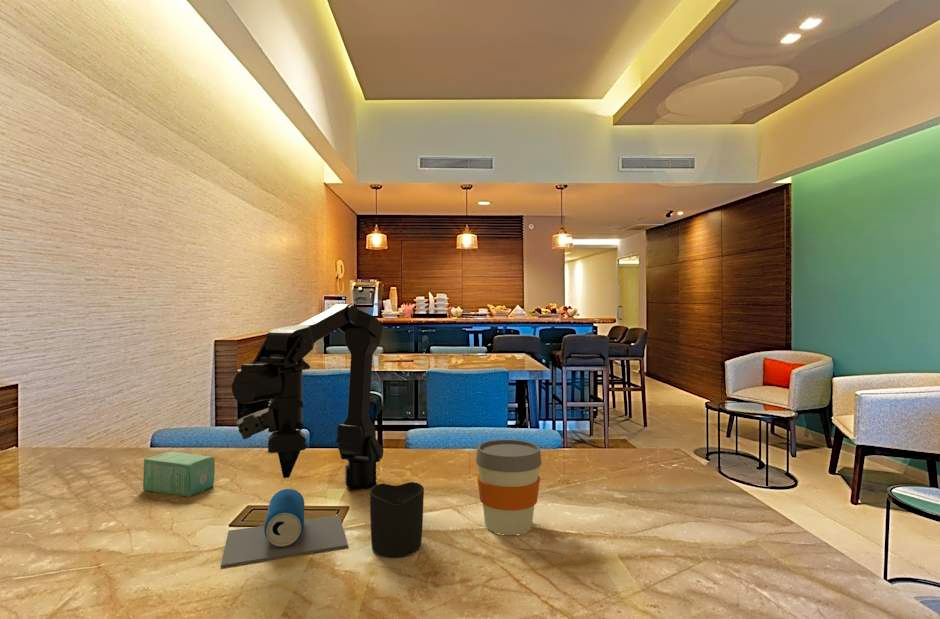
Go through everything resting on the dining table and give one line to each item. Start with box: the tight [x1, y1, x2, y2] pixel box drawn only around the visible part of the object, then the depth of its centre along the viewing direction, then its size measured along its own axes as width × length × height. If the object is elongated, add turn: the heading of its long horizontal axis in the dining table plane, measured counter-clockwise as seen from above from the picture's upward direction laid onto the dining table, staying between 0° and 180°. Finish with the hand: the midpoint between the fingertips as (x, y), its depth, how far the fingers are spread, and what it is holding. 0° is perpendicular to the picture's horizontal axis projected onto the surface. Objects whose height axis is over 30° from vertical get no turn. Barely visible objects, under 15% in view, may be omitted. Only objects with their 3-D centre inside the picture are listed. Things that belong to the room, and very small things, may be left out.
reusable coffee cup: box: [475, 439, 542, 536], centre depth 97 cm, size 12×13×15 cm
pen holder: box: [369, 481, 425, 559], centre depth 88 cm, size 9×9×10 cm
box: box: [142, 451, 216, 498], centre depth 116 cm, size 7×14×8 cm, turn 74°
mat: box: [220, 514, 349, 568], centre depth 90 cm, size 20×14×1 cm
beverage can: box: [263, 488, 305, 546], centre depth 92 cm, size 6×6×12 cm
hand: (286, 477), depth 96 cm, fingers closed
